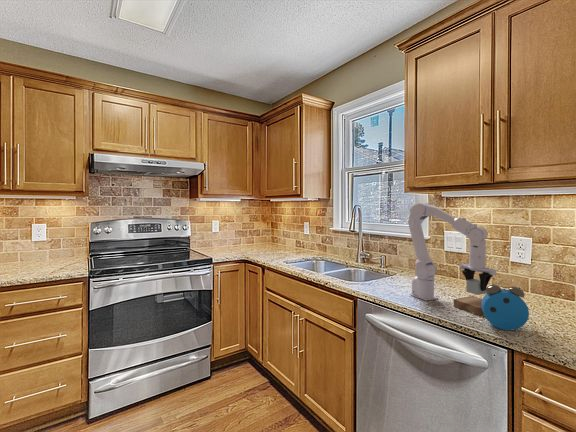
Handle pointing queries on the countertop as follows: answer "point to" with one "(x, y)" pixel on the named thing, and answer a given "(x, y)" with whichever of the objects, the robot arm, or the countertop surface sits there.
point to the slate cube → (474, 287)
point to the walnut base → (470, 304)
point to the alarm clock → (505, 307)
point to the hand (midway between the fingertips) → (476, 288)
